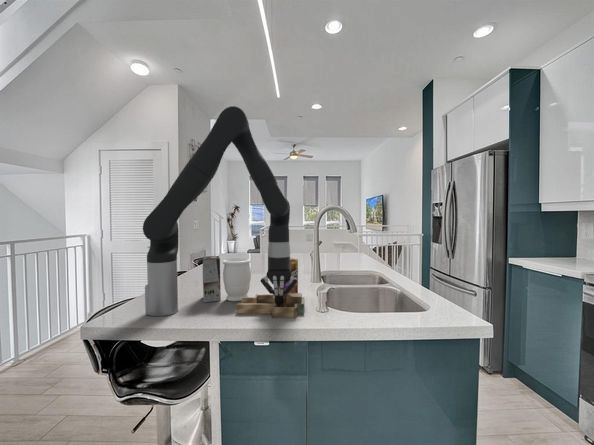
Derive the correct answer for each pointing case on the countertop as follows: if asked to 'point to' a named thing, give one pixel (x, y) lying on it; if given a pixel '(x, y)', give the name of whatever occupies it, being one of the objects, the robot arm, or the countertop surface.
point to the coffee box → (211, 279)
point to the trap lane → (269, 306)
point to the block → (293, 299)
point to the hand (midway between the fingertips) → (279, 305)
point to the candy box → (295, 274)
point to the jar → (236, 278)
